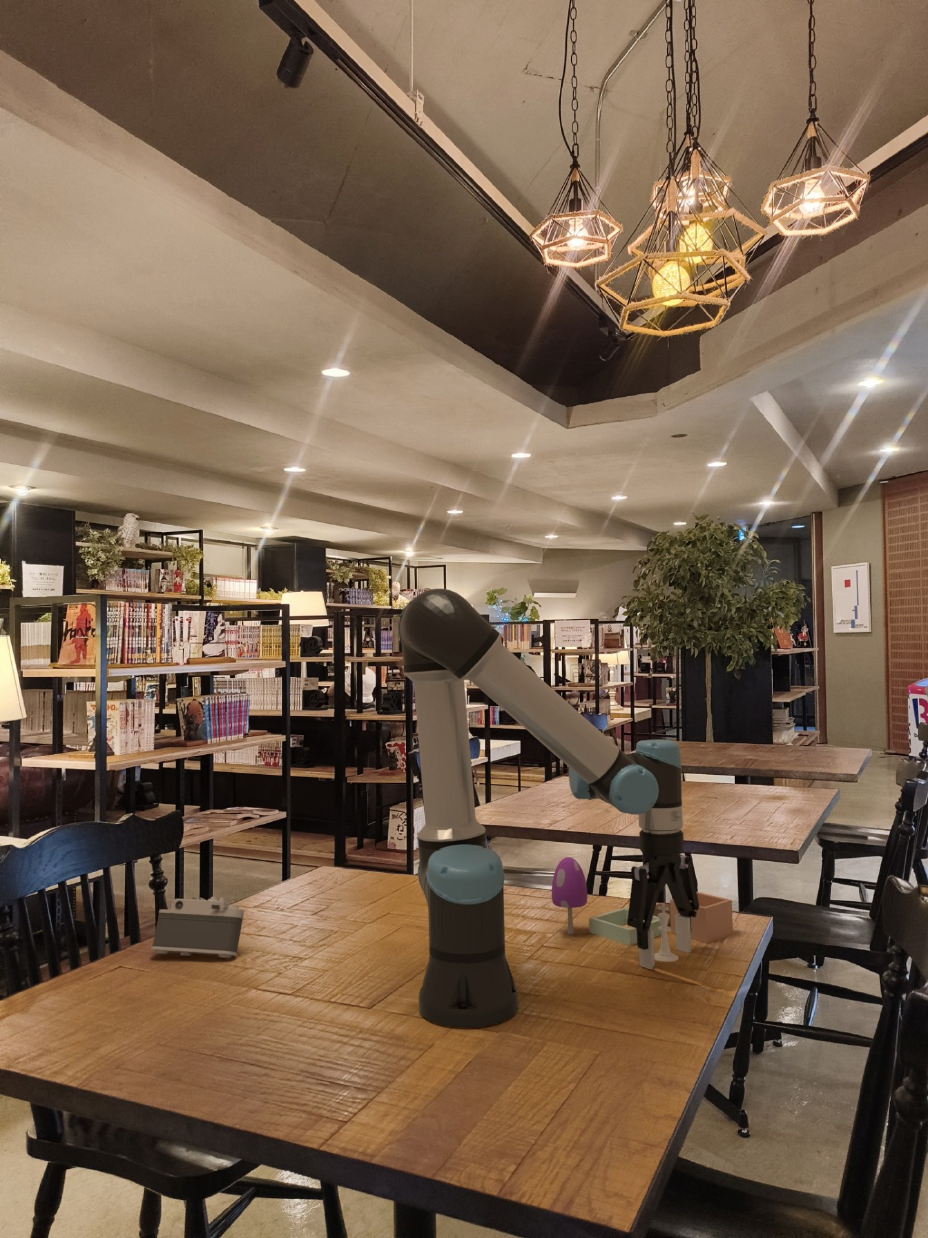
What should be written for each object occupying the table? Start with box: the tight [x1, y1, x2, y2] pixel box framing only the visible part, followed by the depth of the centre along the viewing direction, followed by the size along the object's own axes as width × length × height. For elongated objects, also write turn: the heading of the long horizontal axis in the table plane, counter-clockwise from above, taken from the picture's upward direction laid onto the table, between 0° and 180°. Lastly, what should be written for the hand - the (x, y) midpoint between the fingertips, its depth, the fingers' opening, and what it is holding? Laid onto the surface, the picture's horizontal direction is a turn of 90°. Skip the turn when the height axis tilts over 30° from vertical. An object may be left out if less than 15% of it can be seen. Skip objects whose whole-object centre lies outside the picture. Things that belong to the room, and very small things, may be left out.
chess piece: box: [654, 902, 679, 963], centre depth 151 cm, size 5×5×10 cm
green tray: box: [588, 907, 662, 946], centre depth 165 cm, size 10×10×4 cm
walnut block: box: [653, 902, 671, 928], centre depth 170 cm, size 4×4×4 cm
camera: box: [150, 896, 245, 959], centre depth 163 cm, size 9×16×10 cm, turn 83°
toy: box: [551, 856, 588, 939], centre depth 165 cm, size 7×7×15 cm
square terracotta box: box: [669, 891, 734, 945], centre depth 163 cm, size 8×8×7 cm
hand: (665, 960), depth 151 cm, fingers open, 9 cm apart
